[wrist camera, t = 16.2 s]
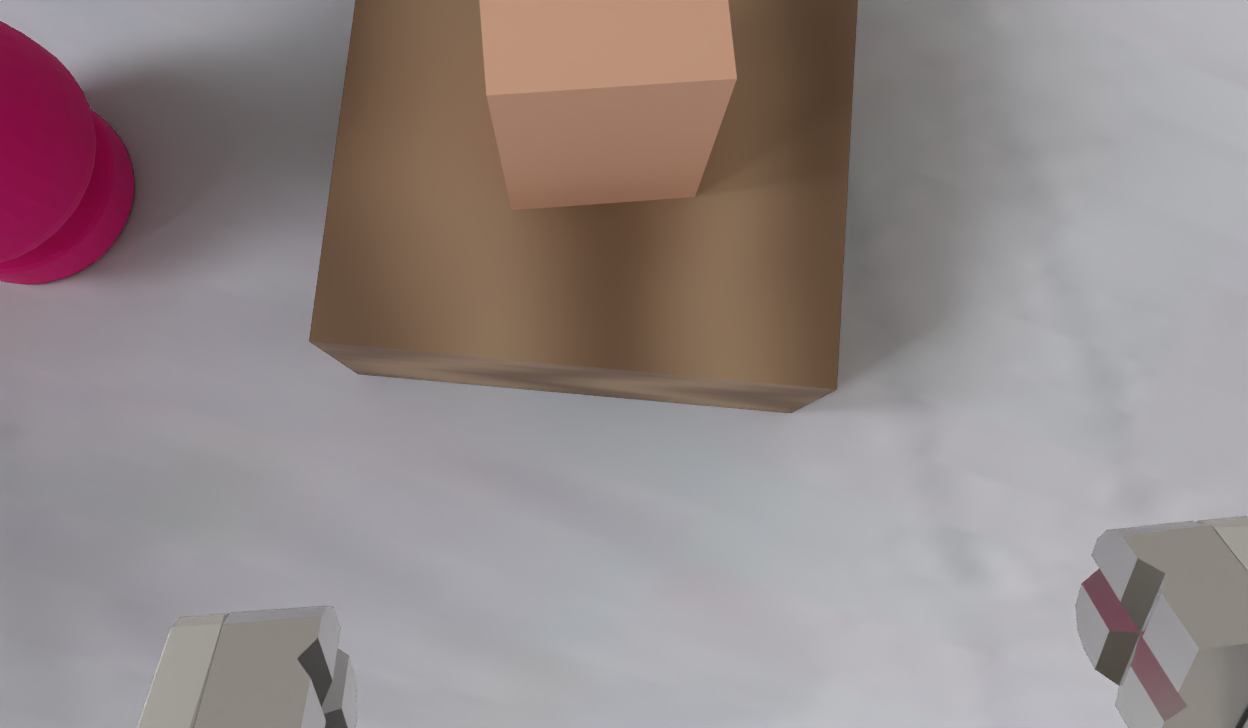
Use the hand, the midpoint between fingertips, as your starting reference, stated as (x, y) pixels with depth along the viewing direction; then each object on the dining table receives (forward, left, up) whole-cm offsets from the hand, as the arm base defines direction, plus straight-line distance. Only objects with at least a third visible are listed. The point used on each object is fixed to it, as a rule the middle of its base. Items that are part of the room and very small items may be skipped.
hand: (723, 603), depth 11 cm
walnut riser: (-2, +12, -22) cm, 25 cm away
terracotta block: (-2, +12, -16) cm, 20 cm away
